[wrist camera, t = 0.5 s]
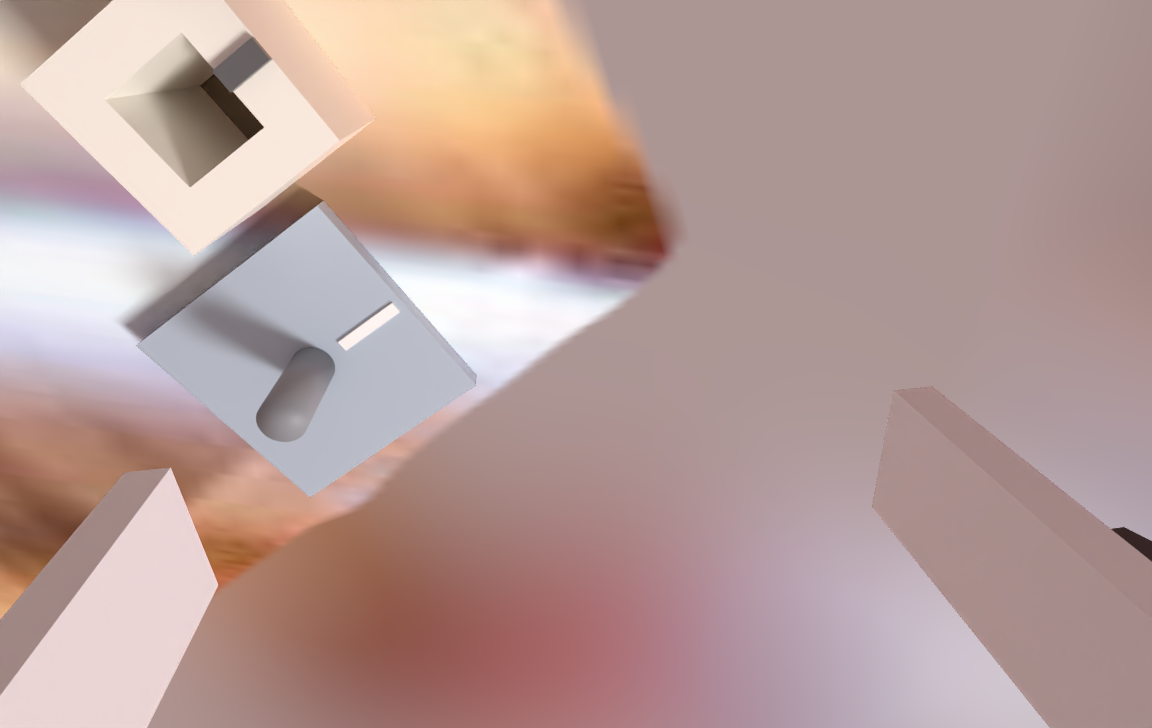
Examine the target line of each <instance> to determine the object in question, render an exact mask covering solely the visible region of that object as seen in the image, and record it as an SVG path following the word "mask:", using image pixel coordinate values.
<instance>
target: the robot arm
mask: <svg viewBox="0 0 1152 728" xmlns="http://www.w3.org/2000/svg"><path fill="white" fill-rule="evenodd" d="M872 507H873V508H874V509H875V511H876V512H877V513H878V514H879V516H880V517H881V518H882V520H883V521H884V522H885V523H886V524H887V526H888V527H889V528H890V529H891V531H892V532H893V533H894V534H895V536H896V537H897V538H898V539H899V541H900V542H901V543H902V544H903V546H904V547H905V548H906V549H907V551H908V552H909V553H910V554H911V556H912V557H913V558H914V559H915V561H916V562H917V563H918V564H919V566H920V567H921V568H922V569H923V570H924V572H925V573H926V574H927V576H928V577H929V578H930V579H931V581H932V582H933V583H934V584H935V585H936V587H937V588H938V589H939V590H940V591H941V593H942V594H943V595H944V597H945V598H946V599H947V600H948V601H949V603H950V604H951V605H952V607H953V608H954V609H955V610H956V611H957V613H958V614H959V615H960V617H961V618H962V619H963V620H964V621H965V623H966V624H967V625H968V627H969V628H970V629H971V630H972V631H973V633H974V634H975V635H976V636H977V638H978V639H979V640H980V641H981V643H982V644H983V645H984V646H985V648H986V649H987V650H988V651H989V653H990V654H991V655H992V656H993V658H994V659H995V660H996V661H997V662H998V664H999V665H1000V666H1001V667H1002V668H1003V670H1004V671H1005V673H1006V674H1007V675H1008V676H1009V677H1010V679H1011V680H1012V681H1013V682H1014V684H1015V685H1016V686H1017V687H1018V689H1019V690H1020V691H1021V692H1022V693H1023V695H1024V696H1025V697H1026V699H1027V700H1028V701H1029V702H1030V704H1031V705H1032V706H1033V707H1034V709H1035V710H1036V711H1037V712H1038V714H1039V715H1040V716H1041V717H1042V719H1043V720H1044V721H1045V722H1046V723H1047V725H1048V726H1049V727H1050V728H1152V541H1150V540H1148V539H1146V538H1144V537H1142V536H1140V535H1138V534H1136V533H1134V532H1132V531H1130V530H1128V529H1127V528H1124V527H1122V528H1115V529H1110V528H1109V527H1108V526H1106V525H1105V524H1104V523H1103V522H1101V521H1100V520H1099V519H1097V518H1096V517H1095V516H1094V515H1093V514H1091V513H1090V512H1089V511H1088V510H1086V509H1085V508H1084V507H1083V506H1081V505H1080V504H1079V503H1078V502H1076V501H1075V500H1074V499H1073V498H1071V497H1070V496H1069V495H1068V494H1066V493H1065V492H1064V491H1063V490H1061V489H1060V488H1059V487H1058V486H1056V485H1055V484H1054V483H1053V482H1051V481H1050V480H1049V479H1048V478H1046V477H1045V476H1044V475H1043V474H1041V473H1040V472H1039V471H1038V470H1036V469H1035V468H1034V467H1033V466H1031V465H1030V464H1029V463H1028V462H1026V461H1025V460H1024V459H1022V458H1021V457H1020V456H1019V455H1018V454H1016V453H1015V452H1014V451H1013V450H1011V449H1010V448H1009V447H1007V446H1006V445H1005V444H1004V443H1003V442H1001V441H1000V440H999V439H998V438H996V437H995V436H994V435H993V434H991V433H990V432H989V431H988V430H986V429H985V428H984V427H983V426H981V425H980V424H979V423H977V422H976V421H975V420H974V419H972V418H971V417H970V416H969V415H967V414H966V413H965V412H964V411H962V410H961V409H960V408H959V407H957V406H956V405H955V404H954V403H952V402H951V401H950V400H949V399H947V398H946V397H945V396H944V395H942V394H941V393H940V392H939V391H937V390H936V389H935V388H934V387H932V386H929V387H920V388H910V389H901V390H894V391H893V395H892V401H891V406H890V411H889V417H888V422H887V427H886V433H885V438H884V444H883V449H882V454H881V460H880V465H879V471H878V476H877V481H876V487H875V492H874V497H873V504H872ZM217 587H218V583H217V581H216V578H215V576H214V573H213V571H212V568H211V566H210V564H209V561H208V559H207V556H206V554H205V551H204V549H203V546H202V544H201V541H200V539H199V536H198V534H197V532H196V529H195V527H194V524H193V522H192V519H191V517H190V514H189V512H188V509H187V507H186V504H185V502H184V499H183V497H182V495H181V492H180V490H179V487H178V485H177V482H176V480H175V477H174V475H173V472H172V470H171V468H164V469H154V470H145V471H136V472H126V473H124V474H123V475H122V476H121V478H120V479H119V480H118V481H117V482H116V483H115V485H114V486H113V487H112V488H111V489H110V491H109V492H108V493H107V494H106V495H105V496H104V498H103V499H102V500H101V501H100V502H99V504H98V505H97V506H96V507H95V508H94V509H93V511H92V512H91V513H90V514H89V515H88V517H87V518H86V519H85V520H84V521H83V523H82V524H81V525H80V526H79V527H78V528H77V530H76V531H75V532H74V533H73V534H72V536H71V537H70V538H69V539H68V540H67V541H66V543H65V544H64V545H63V546H62V547H61V549H60V550H59V551H58V552H57V553H56V554H55V556H54V557H53V558H52V559H51V560H50V562H49V563H48V564H47V565H46V566H45V568H44V569H43V570H42V571H41V572H40V573H39V575H38V576H37V577H36V578H35V579H34V581H33V582H32V583H31V584H30V585H29V586H28V588H27V589H26V590H25V591H24V592H23V594H22V595H21V596H20V597H19V598H18V600H17V601H16V602H15V603H14V604H13V605H12V607H11V608H10V609H9V610H8V611H7V613H6V614H5V615H4V616H3V617H2V618H1V620H0V728H147V726H148V724H149V722H150V720H151V718H152V716H153V714H154V712H155V710H156V708H157V707H158V704H159V703H160V700H161V698H162V696H163V695H164V693H165V691H166V688H167V686H168V684H169V682H170V680H171V679H172V676H173V674H174V673H175V671H176V669H177V667H178V664H179V663H180V661H181V658H182V657H183V655H184V653H185V651H186V649H187V647H188V644H189V643H190V641H191V639H192V637H193V635H194V633H195V631H196V629H197V627H198V625H199V622H200V621H201V619H202V617H203V615H204V613H205V610H206V609H207V606H208V605H209V603H210V601H211V599H212V597H213V595H214V593H215V591H216V589H217Z"/></svg>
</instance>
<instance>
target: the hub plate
mask: <svg viewBox="0 0 1152 728" xmlns="http://www.w3.org/2000/svg"><path fill="white" fill-rule="evenodd" d="M136 346H137V347H138V348H139V349H140V350H142V351H143V352H144V353H145V354H146V355H147V356H148V357H150V358H151V359H152V360H153V361H154V362H155V363H156V364H158V365H159V366H160V367H161V368H162V369H163V370H165V371H166V372H167V373H168V374H169V375H170V376H171V377H173V378H174V379H175V380H176V381H177V382H178V383H179V384H181V385H182V386H183V387H184V388H185V389H186V390H187V391H189V392H190V393H191V394H192V395H193V396H194V397H195V398H197V399H198V400H199V401H200V402H201V403H202V404H204V405H205V406H206V407H207V408H208V409H209V410H210V411H212V412H213V413H214V414H215V415H216V416H217V417H218V418H220V419H221V420H222V421H223V422H224V423H225V424H226V425H228V426H229V427H230V428H231V429H232V430H233V431H235V432H236V433H237V434H238V435H239V436H240V437H241V438H243V439H244V440H245V441H246V442H247V443H248V444H249V445H251V446H252V447H253V448H254V449H255V450H256V451H257V452H259V453H260V454H261V455H262V456H263V457H264V458H265V459H267V460H268V461H269V462H270V463H271V464H272V465H274V466H275V467H276V468H277V469H278V470H279V471H280V472H282V473H283V474H284V475H285V476H286V477H287V478H288V479H290V480H291V481H292V482H293V483H294V484H295V485H296V486H298V487H299V488H300V489H301V490H302V491H303V492H305V493H306V494H307V495H308V496H309V497H312V496H313V495H314V494H316V493H317V492H319V491H320V490H322V489H323V488H325V487H326V486H328V485H329V484H331V483H332V482H334V481H335V480H337V479H338V478H340V477H341V476H343V475H344V474H346V473H347V472H349V471H350V470H351V469H353V468H354V467H356V466H357V465H359V464H360V463H362V462H363V461H365V460H366V459H368V458H369V457H371V456H372V455H374V454H375V453H377V452H378V451H380V450H381V449H383V448H384V447H385V446H387V445H388V444H390V443H391V442H393V441H394V440H396V439H397V438H399V437H400V436H402V435H403V434H405V433H406V432H408V431H409V430H411V429H412V428H414V427H415V426H417V425H418V424H420V423H421V422H422V421H424V420H425V419H427V418H428V417H430V416H431V415H433V414H434V413H436V412H437V411H439V410H440V409H442V408H443V407H445V406H446V405H448V404H449V403H451V402H452V401H454V400H455V399H456V398H458V397H459V396H461V395H462V394H464V393H465V392H467V391H468V390H470V389H471V388H473V387H474V386H476V376H477V375H476V374H475V373H474V372H473V371H472V370H471V369H470V367H469V366H468V365H467V364H466V363H465V362H464V361H463V359H462V358H461V357H460V356H459V355H458V354H457V353H456V351H455V350H454V349H453V348H452V347H451V346H450V345H449V343H448V342H447V341H446V340H445V339H444V338H443V337H442V335H441V334H440V333H439V332H438V331H437V330H436V329H435V327H434V326H433V325H432V324H431V323H430V322H429V321H428V319H427V318H426V317H425V316H424V315H423V314H422V313H421V311H420V310H419V309H418V308H417V307H416V306H415V305H414V303H413V302H412V301H411V300H410V299H409V298H408V297H407V295H406V294H405V293H404V292H403V291H402V290H401V289H400V287H399V286H398V285H397V284H396V283H395V282H394V281H393V279H392V278H391V277H390V276H389V275H388V274H387V273H386V271H385V270H384V269H383V268H382V267H381V266H380V265H379V263H378V262H377V261H376V260H375V259H374V258H373V257H372V255H371V254H370V253H369V252H368V251H367V250H366V249H365V247H364V246H363V245H362V244H361V243H360V242H359V241H358V239H357V238H356V237H355V236H354V235H353V234H352V233H351V231H350V230H349V229H348V228H347V227H346V226H345V225H344V223H343V222H342V221H341V220H340V219H339V218H338V217H337V216H336V214H335V213H334V212H333V211H332V210H331V209H330V208H329V206H328V205H327V204H326V203H325V202H324V201H322V202H321V203H319V204H318V205H317V206H315V207H314V208H313V209H312V210H310V211H309V212H308V213H306V214H305V215H304V216H303V217H301V218H300V219H299V220H297V221H296V222H295V223H293V224H292V225H291V226H290V227H288V228H287V229H286V230H284V231H283V232H282V233H281V234H279V235H278V236H277V237H275V238H274V239H273V240H271V241H270V242H269V243H268V244H266V245H265V246H264V247H262V248H261V249H260V250H258V251H257V252H256V253H255V254H253V255H252V256H251V257H249V258H248V259H247V260H246V261H244V262H243V263H242V264H240V265H239V266H238V267H236V268H235V269H234V270H233V271H231V272H230V273H229V274H227V275H226V276H225V277H224V278H222V279H221V280H220V281H218V282H217V283H216V284H214V285H213V286H212V287H211V288H209V289H208V290H207V291H205V292H204V293H203V294H202V295H200V296H199V297H198V298H196V299H195V300H194V301H192V302H191V303H190V304H189V305H187V306H186V307H185V308H183V309H182V310H181V311H180V312H178V313H177V314H176V315H174V316H173V317H172V318H170V319H169V320H168V321H167V322H165V323H164V324H163V325H161V326H160V327H159V328H158V329H156V330H155V331H154V332H152V333H151V334H150V335H148V336H147V337H146V338H145V339H144V340H142V341H141V342H140V343H139V344H138V345H136Z"/></svg>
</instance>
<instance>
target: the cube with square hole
mask: <svg viewBox="0 0 1152 728" xmlns="http://www.w3.org/2000/svg"><path fill="white" fill-rule="evenodd" d="M212 75H215V76H216V77H217V78H218V79H219V80H220V81H221V83H222V84H223V85H224V86H225V87H226V88H227V89H228V91H229V92H234V93H235V94H236V96H237V97H238V98H239V99H240V100H241V101H242V102H243V104H244V105H245V106H246V107H247V108H248V109H249V110H250V112H251V113H252V114H253V115H254V116H255V117H256V118H257V120H258V121H259V122H260V123H261V124H262V125H263V126H264V128H263V129H262V130H260V131H259V132H258V133H257V134H255V135H254V136H253V137H252V138H251V139H249V140H248V139H247V138H246V137H245V135H244V134H243V133H242V132H241V131H240V130H239V129H238V128H237V127H236V125H235V124H234V123H233V122H232V121H231V120H230V119H229V118H228V116H227V115H226V114H225V113H224V112H223V111H222V110H221V109H220V107H219V106H218V105H217V104H216V103H215V102H214V101H213V100H212V98H211V97H210V96H209V95H208V94H207V93H206V92H205V91H204V89H203V88H202V87H201V85H202V84H203V83H204V82H205V81H207V80H208V79H209V78H210V77H211V76H212ZM20 85H21V86H22V87H23V88H24V89H25V90H26V91H27V92H28V93H29V94H30V95H31V96H32V97H33V98H34V99H35V100H36V101H37V102H38V103H39V104H40V105H41V106H42V107H43V108H44V109H45V110H46V111H47V112H48V113H49V114H50V115H51V116H52V117H53V118H54V119H55V120H56V121H57V122H58V123H59V124H60V125H61V126H62V127H63V128H64V129H65V130H66V131H67V132H68V133H69V134H71V135H72V136H73V137H74V138H75V139H76V140H77V141H78V142H79V143H80V144H81V145H82V146H83V147H84V148H85V149H86V150H87V151H88V152H89V153H90V154H91V155H92V156H93V157H94V158H95V159H96V160H97V161H98V162H99V163H100V164H101V165H102V166H103V167H104V168H105V169H106V170H107V171H108V172H109V173H110V174H111V175H112V176H113V177H114V178H115V179H116V180H117V181H118V182H119V183H120V184H121V185H122V186H123V187H124V188H125V189H127V190H128V191H129V192H130V193H131V194H132V195H133V196H134V197H135V198H136V199H137V200H138V201H139V202H140V203H141V204H142V205H143V206H144V207H145V208H146V209H147V210H148V211H149V212H150V213H151V214H152V215H153V216H154V217H155V218H156V219H157V220H158V221H159V222H160V223H161V224H162V225H163V226H164V227H165V228H166V229H167V230H168V231H169V232H170V233H171V234H172V235H173V236H174V237H175V238H176V239H177V240H178V241H179V242H180V243H181V244H183V245H184V246H185V247H186V248H187V249H188V250H189V251H190V252H191V253H192V254H193V255H195V254H197V253H198V252H200V251H201V250H202V249H204V248H205V247H207V246H208V245H210V244H211V243H213V242H214V241H215V240H217V239H218V238H220V237H221V236H223V235H224V234H225V233H227V232H228V231H230V230H231V229H233V228H234V227H236V226H237V225H238V224H240V223H241V222H243V221H244V220H246V219H247V218H248V217H250V216H251V215H253V214H254V213H256V212H257V211H259V210H260V209H261V208H263V207H264V206H265V205H267V204H268V203H269V202H270V201H272V200H273V199H274V198H275V197H277V196H278V195H279V194H281V193H282V192H283V191H284V190H286V189H287V188H288V187H289V186H291V185H292V184H293V183H295V182H296V181H297V180H298V179H300V178H301V177H302V176H303V175H305V174H306V173H307V172H309V171H310V170H311V169H312V168H314V167H315V166H316V165H317V164H319V163H320V162H321V161H323V160H324V159H325V158H326V157H328V156H329V155H330V154H331V153H333V152H334V151H335V150H336V149H338V148H339V147H340V146H342V145H343V144H344V143H345V142H347V141H348V140H349V139H350V138H352V137H353V136H354V135H356V134H357V133H358V132H359V131H361V130H362V129H363V128H364V127H366V126H367V125H368V124H370V123H371V122H372V121H373V120H375V119H376V117H375V115H374V114H373V113H372V112H371V110H370V109H369V108H368V107H367V105H366V104H365V103H364V101H363V100H362V99H361V98H360V96H359V95H358V94H357V93H356V91H355V90H354V89H353V87H352V86H351V85H350V84H349V82H348V81H347V80H346V79H345V77H344V76H343V75H342V73H341V72H340V71H339V70H338V68H337V67H336V66H335V65H334V63H333V62H332V61H331V59H330V58H329V57H328V56H327V54H326V53H325V52H324V51H323V49H322V48H321V47H320V45H319V44H318V43H317V42H316V40H315V39H314V38H313V36H312V35H311V34H310V33H309V31H308V30H307V29H306V28H305V26H304V25H303V24H302V22H301V21H300V20H299V19H298V17H297V16H296V15H295V14H294V12H293V11H292V10H291V8H290V7H289V6H288V5H287V3H286V2H285V1H284V0H113V1H112V2H110V3H109V4H108V5H107V6H106V7H105V8H104V9H103V10H102V11H100V12H99V13H98V14H97V15H96V16H95V17H94V18H93V19H92V20H90V21H89V22H88V23H87V24H86V25H85V26H84V27H83V28H82V29H81V30H79V31H78V32H77V33H76V34H75V35H74V36H73V37H72V38H71V39H69V40H68V41H67V42H66V43H65V44H64V45H63V46H62V47H61V48H59V49H58V50H57V51H56V52H55V53H54V54H53V55H52V56H51V57H50V58H48V59H47V60H46V61H45V62H44V63H43V64H42V65H41V66H40V67H38V68H37V69H36V70H35V71H34V72H33V73H32V74H31V75H30V76H28V77H27V78H26V79H25V80H24V81H23V82H22V83H21V84H20Z"/></svg>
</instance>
